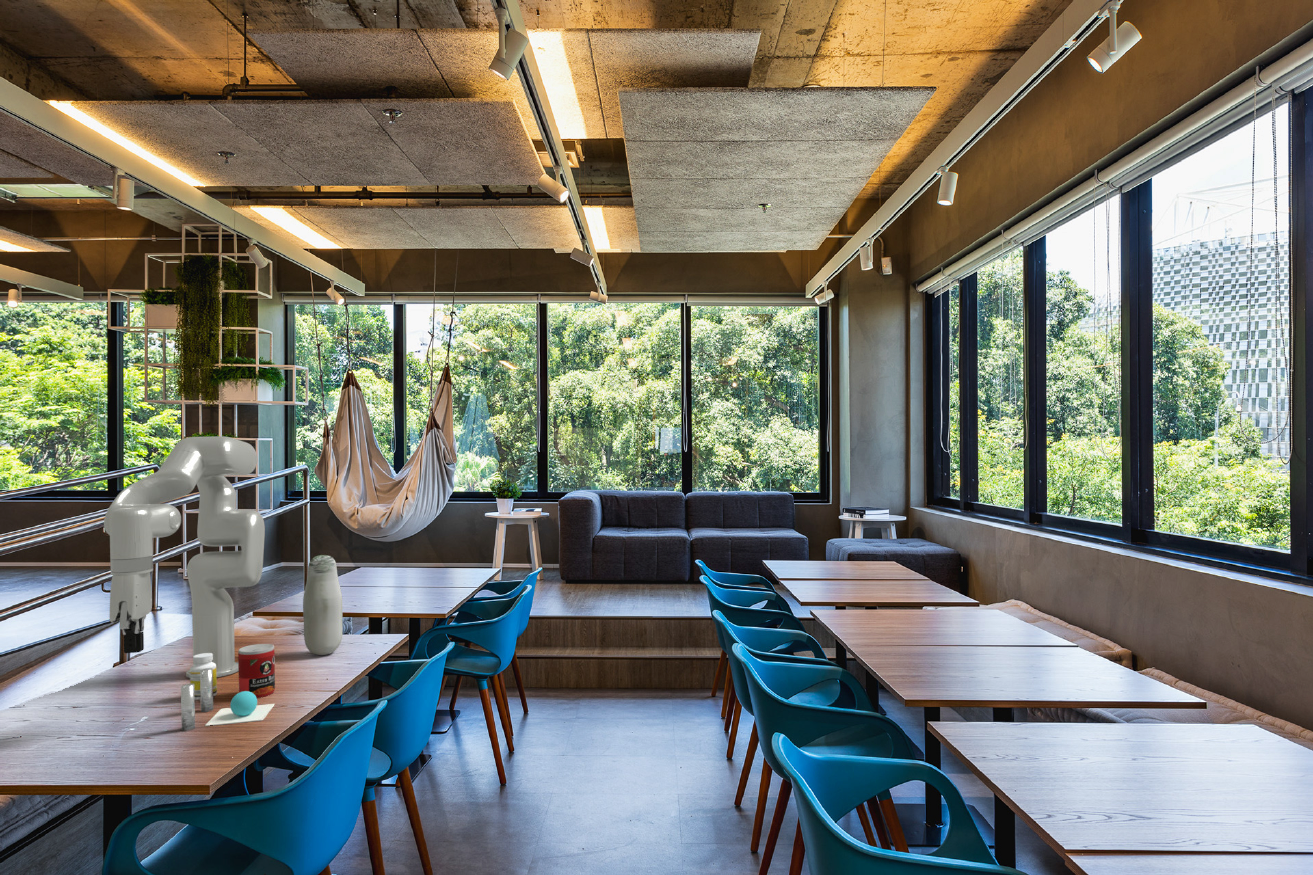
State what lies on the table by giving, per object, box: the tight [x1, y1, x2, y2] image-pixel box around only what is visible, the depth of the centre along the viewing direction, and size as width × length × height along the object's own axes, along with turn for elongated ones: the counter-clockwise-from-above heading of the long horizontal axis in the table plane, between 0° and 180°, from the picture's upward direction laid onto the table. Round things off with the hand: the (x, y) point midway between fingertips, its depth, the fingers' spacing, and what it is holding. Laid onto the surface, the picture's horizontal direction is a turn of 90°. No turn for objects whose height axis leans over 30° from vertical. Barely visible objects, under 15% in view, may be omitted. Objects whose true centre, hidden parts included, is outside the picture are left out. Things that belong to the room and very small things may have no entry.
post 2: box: [200, 668, 214, 713], centre depth 174 cm, size 2×2×9 cm
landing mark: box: [205, 703, 275, 727], centre depth 170 cm, size 11×11×1 cm
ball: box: [229, 691, 258, 716], centre depth 169 cm, size 5×5×5 cm
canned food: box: [237, 643, 276, 699], centre depth 185 cm, size 8×8×11 cm
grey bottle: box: [302, 554, 343, 656], centre depth 221 cm, size 10×10×28 cm
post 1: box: [180, 683, 196, 732], centre depth 162 cm, size 2×2×9 cm
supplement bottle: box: [189, 653, 218, 701], centre depth 184 cm, size 5×5×10 cm
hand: (133, 651), depth 166 cm, fingers closed
